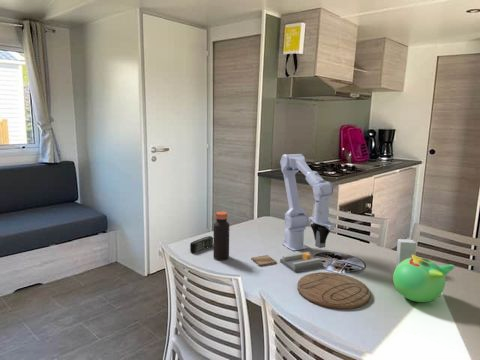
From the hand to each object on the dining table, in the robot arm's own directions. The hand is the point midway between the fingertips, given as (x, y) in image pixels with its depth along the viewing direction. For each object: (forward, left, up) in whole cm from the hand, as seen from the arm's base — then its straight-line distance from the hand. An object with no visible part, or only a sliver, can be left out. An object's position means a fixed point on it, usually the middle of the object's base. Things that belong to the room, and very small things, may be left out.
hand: (320, 241), depth 156 cm
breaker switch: (0, -7, -7) cm, 9 cm away
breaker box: (0, -9, -9) cm, 13 cm away
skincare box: (+20, +28, -9) cm, 36 cm away
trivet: (+24, -12, -9) cm, 28 cm away
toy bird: (+40, +12, -9) cm, 43 cm away
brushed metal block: (0, 0, -2) cm, 2 cm away
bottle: (-20, -37, -9) cm, 43 cm away
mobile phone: (-34, -41, -9) cm, 53 cm away
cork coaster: (-9, -22, -9) cm, 25 cm away
